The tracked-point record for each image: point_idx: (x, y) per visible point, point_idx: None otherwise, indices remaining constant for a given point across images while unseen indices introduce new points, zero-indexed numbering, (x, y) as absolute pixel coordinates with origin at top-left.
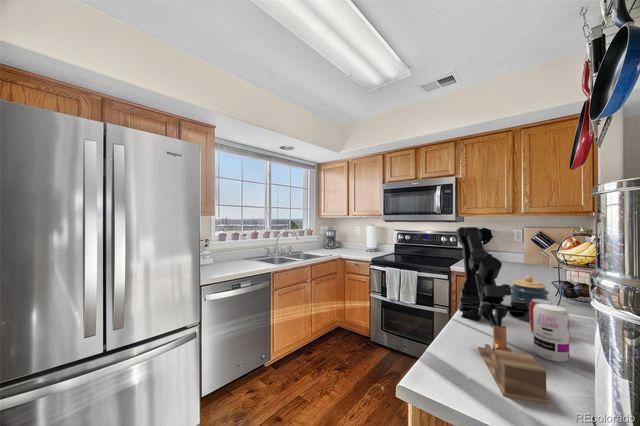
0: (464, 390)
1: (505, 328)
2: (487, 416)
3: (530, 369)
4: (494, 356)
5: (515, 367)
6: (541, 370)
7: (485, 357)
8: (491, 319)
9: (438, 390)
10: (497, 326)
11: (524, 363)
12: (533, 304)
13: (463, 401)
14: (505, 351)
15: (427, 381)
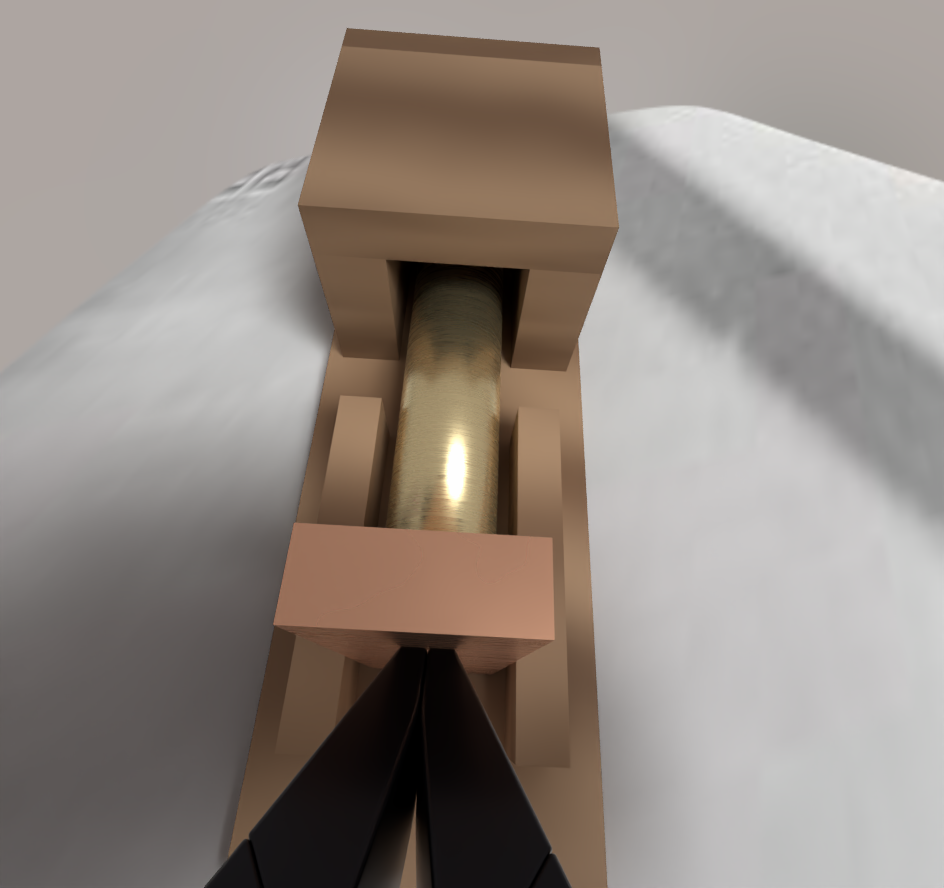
0: (751, 232)
1: (316, 532)
2: (666, 119)
3: (440, 36)
4: (599, 280)
5: (533, 44)
6: (367, 36)
7: (576, 614)
8: (555, 877)
9: (870, 210)
10: (466, 570)
11: (442, 85)
12: None
13: (754, 169)
14: (521, 212)
15: (940, 259)
